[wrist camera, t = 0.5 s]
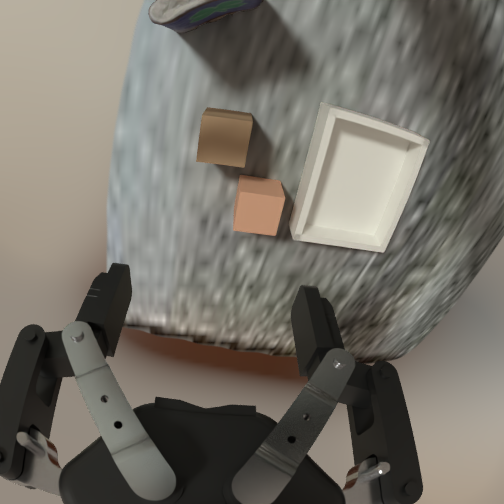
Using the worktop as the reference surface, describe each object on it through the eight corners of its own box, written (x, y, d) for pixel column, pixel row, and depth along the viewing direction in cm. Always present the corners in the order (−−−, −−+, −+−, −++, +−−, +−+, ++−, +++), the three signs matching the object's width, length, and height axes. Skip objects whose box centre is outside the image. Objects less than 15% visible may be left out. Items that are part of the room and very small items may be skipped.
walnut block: (207, 107, 28) (202, 115, 24) (251, 113, 29) (252, 121, 25) (201, 147, 31) (196, 161, 27) (243, 153, 31) (244, 167, 28)
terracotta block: (239, 174, 33) (240, 191, 29) (279, 180, 33) (285, 198, 30) (233, 209, 35) (233, 230, 32) (271, 215, 36) (275, 235, 32)
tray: (320, 101, 28) (330, 107, 25) (414, 131, 29) (429, 140, 27) (288, 223, 36) (292, 239, 34) (374, 236, 38) (383, 252, 35)
